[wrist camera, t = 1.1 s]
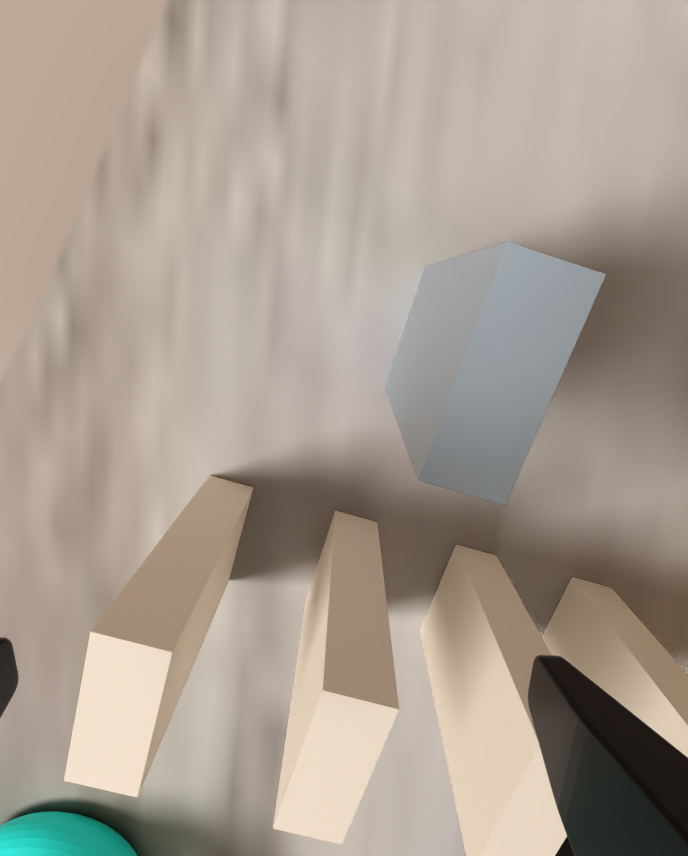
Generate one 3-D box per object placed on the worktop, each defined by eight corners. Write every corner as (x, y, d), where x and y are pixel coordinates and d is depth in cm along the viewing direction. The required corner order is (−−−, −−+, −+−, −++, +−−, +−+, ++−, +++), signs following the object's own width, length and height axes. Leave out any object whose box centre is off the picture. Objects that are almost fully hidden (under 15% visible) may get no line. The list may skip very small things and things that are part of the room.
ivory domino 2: (377, 522, 21) (399, 709, 12) (345, 611, 23) (341, 844, 13) (335, 510, 21) (322, 690, 12) (305, 600, 23) (272, 828, 13)
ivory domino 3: (496, 555, 22) (611, 763, 12) (458, 641, 23) (534, 888, 14) (455, 544, 22) (540, 745, 12) (419, 631, 23) (469, 873, 13)
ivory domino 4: (611, 587, 22) (808, 812, 13) (567, 669, 24) (715, 929, 14) (572, 576, 22) (742, 796, 12) (530, 660, 23) (654, 915, 14)
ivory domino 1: (253, 487, 21) (172, 652, 11) (228, 580, 22) (137, 797, 13) (210, 475, 21) (90, 631, 11) (187, 569, 22) (63, 780, 13)
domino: (473, 282, 18) (606, 273, 9) (430, 401, 20) (505, 505, 10) (425, 267, 18) (507, 241, 9) (385, 388, 20) (418, 480, 10)
